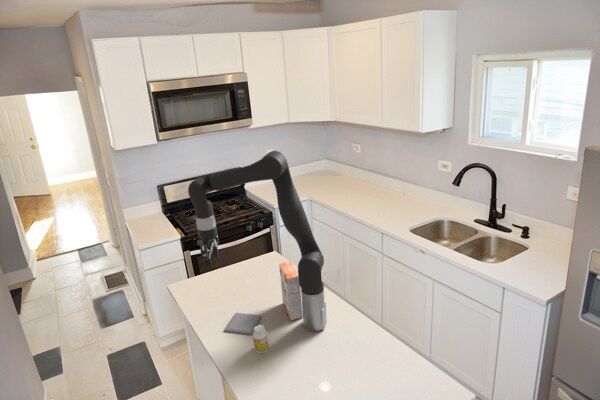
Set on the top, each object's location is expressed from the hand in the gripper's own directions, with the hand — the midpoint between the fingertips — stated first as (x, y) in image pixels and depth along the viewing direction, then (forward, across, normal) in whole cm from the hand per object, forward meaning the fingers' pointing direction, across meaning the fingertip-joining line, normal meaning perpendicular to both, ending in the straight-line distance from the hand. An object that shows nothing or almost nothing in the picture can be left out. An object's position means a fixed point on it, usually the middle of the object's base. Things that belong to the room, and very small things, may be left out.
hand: (212, 261), depth 171 cm
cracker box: (+28, +6, -30) cm, 42 cm away
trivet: (+28, -4, -11) cm, 30 cm away
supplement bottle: (+28, -19, -23) cm, 41 cm away
